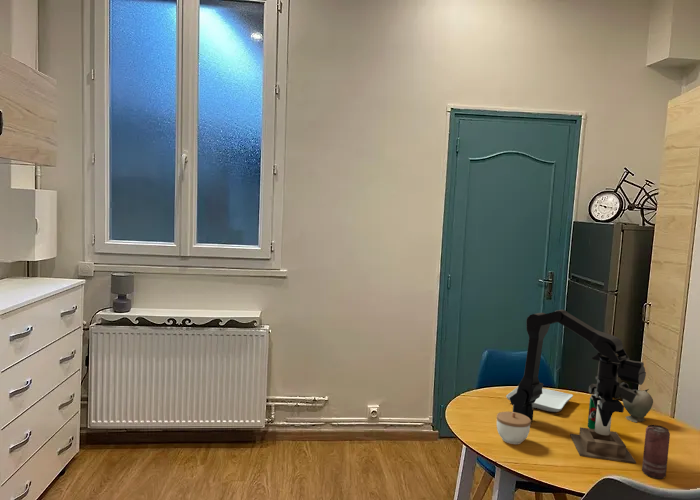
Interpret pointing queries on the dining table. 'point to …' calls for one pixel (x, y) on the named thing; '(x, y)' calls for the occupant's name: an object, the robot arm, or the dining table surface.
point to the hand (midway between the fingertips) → (603, 423)
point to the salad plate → (548, 400)
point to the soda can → (591, 414)
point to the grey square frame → (601, 446)
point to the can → (656, 451)
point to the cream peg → (599, 426)
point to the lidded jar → (513, 427)
